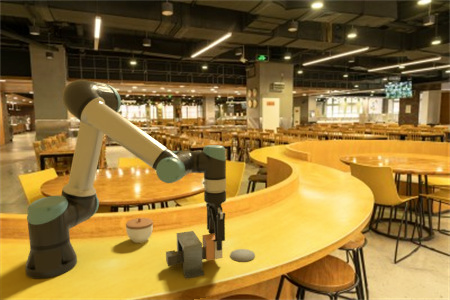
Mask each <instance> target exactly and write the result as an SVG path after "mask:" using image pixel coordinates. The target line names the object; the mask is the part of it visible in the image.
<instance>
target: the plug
mask: <svg viewBox="0 0 450 300" xmlns="http://www.w3.org/2000/svg"><path fill="white" fill-rule="evenodd" d="M213 240H215V233H214V234H210V233H209V234H202V261H203V260H206V261H211V260H216V259H215V258H214V241H213ZM165 259H166V260H165V261H166V264H167V266H168V267H172V266H177V265H178V264H183V250H181V251H177V250H176V249H175V250H168V251H165Z"/></svg>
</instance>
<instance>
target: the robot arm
mask: <svg viewBox="0 0 450 300" xmlns="http://www.w3.org/2000/svg"><path fill="white" fill-rule="evenodd" d="M61 99H62V103H63V105H64V107H65V109H66V110H67V111H68V112H69V113H70V115H72V117H75V118H76V119H78V120H79V122H80V123H79V126H78V132H77V135H76V137H77V138H76V141H75V147H74V153H73V157H72V162H71V168H70V173H69V177H68V182H67V184H64V185H63V186H62V188H61V189H62V190H61V194H60V195H50V196H47V197H42V198H39V199H36V200H34V201H33V202H32V203H30V204H29V205H28V207H27V215H26V220H27V227H28V237H29V239H28V240H29V249H30V250H29V253H28V256H27V260H26V264H25V266H24V267H25V274H26V276H27V277H28V278H31V279H47V278H52V277H56V276H57V277H58V276H60V275H62V274H65V273H67V272H68V271H70V270H72V269H73V268H74V267H76V265H77V263H78V259H77V258H78V257H77V253H76V251H75V248H74V247H73V245H72V243H71V240H70V239H71V238H70V229H72V228H74V227H76V226H78V225H80V224H81V223H84V222H86V221H89V219H91V218H92V217H93V216H95V214H96V213H97V212H98V209H99V206H100V205H99V204H100V199H99V198H98V195H97V189H96V188H95V187H94V183H95V179H96V175H97V170H98V164H99V160H100V155H101V150H102V148H103V147H102V146H103V141H104V136H107V137H108V138H110V139H111V140H113V141H114V142H115V143H116V144H117V145H120V147H122V148H124V149H125V150H127V151H128V152H129V153H130V154H133V156H135V157H137V159H139V160H140V161H142V162H143V163H145V164H146V165H147V166H148V167H150V168H152V169H153V170H154V171H155V172H156V175H157V176H156V177H158V179H159V180H160V181H161V182H163V183H166V184H173V183H176V182H179V181H180V180H181V179H183V178H184V177H185V176H187V175H189V174H203V180H204V181H202V185H203V187H204V192H203V198H204V199H203V200H204V202H205V203H206V204H205V205H206V229H207V232H208V233H209V234H214V233H215V240H213V241H214V258H215V259H214V260H219V259H223V242H224V241H226V227H225V225H226V221H225V220H226V212H223V207H222V204H224V203H225V202H226V201H227V191H226V190H227V175H226V173H227V169H226V167H227V158H226V148H225V146H223V145H218V144H208V145H204V146H203V150H201V151H198V150H197V151H196V150H195V151H194V150H173V151H172V150H170V149H168V147H166V146H165V145H163V143H160V142H159V141H158V140H157V139H155V138H153V137H152V136H150V135H149V134H148V133H147V132H145V131H144V130H142V129H140V127H138V126H136V125H135V124H134V123H132V122H131V121H130V120H128V119H126V118H125V117H124V116H123V115H121V114H120V113H118V112H119V110H120V108H121V106H122V98H121V95H120V94H119V92H118V90H117V89H116V88H115V87H114V86H112V85H109V84H107V83H105V82H100V81H99V82H98V81H93V80H92V81H91V80H86V79H77V80H76V79H75V80H73V81H71V82H68V84H67V85H66V86H65V87H64V89H63V91H62V96H61Z"/></svg>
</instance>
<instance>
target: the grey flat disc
mask: <svg viewBox="0 0 450 300" xmlns="http://www.w3.org/2000/svg"><path fill="white" fill-rule="evenodd" d="M229 254H230V255H229V256H230V258H231V259H232V260H233V261H236V262H242V263H244V262H250V261H253V260H254V259H255V258H256V254H255V253H254V251H253V250H249V249H245V248H239V249H238V248H237V249H234V250H232V251H231V252H230V253H229Z"/></svg>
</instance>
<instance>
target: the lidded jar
mask: <svg viewBox="0 0 450 300" xmlns="http://www.w3.org/2000/svg"><path fill="white" fill-rule="evenodd" d="M153 226H154V221H153V219H151V218H149V217H135V218H131V219H129V220H128V221H126V222H125V227H126V229H125V230H126V234H127V237H128V238H129V239H130V240H131V241H132V243H133V244H134V243H135V244H143V243H146V242H148V240H149V239H150V237H151V236H152V233H153V229H154V227H153Z"/></svg>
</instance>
